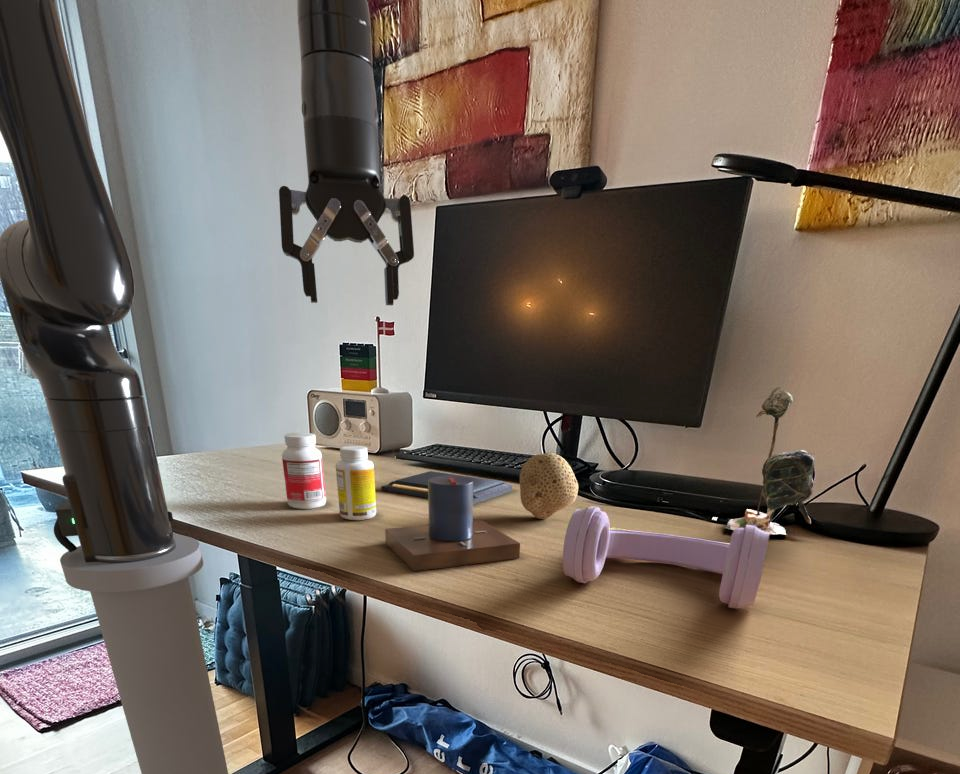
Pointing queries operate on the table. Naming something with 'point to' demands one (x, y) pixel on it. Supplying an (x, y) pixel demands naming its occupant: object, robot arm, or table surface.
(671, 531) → the table surface
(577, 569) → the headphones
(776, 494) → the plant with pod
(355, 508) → the supplement bottle
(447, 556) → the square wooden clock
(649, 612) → the table surface
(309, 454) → the pill bottle
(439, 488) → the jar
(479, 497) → the dark blue book
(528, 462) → the natural sponge
